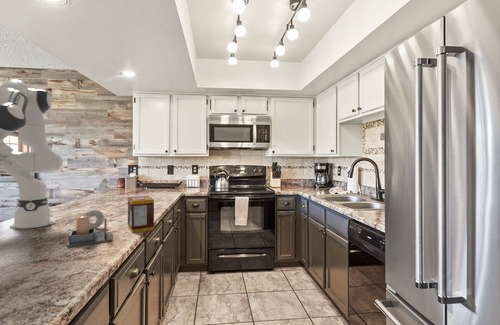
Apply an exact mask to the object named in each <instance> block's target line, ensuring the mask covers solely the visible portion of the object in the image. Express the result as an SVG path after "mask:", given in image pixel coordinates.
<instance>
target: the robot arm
mask: <svg viewBox="0 0 500 325" xmlns="http://www.w3.org/2000/svg"><path fill="white" fill-rule="evenodd" d="M52 99H53V98H52V96H51V94H50V93H49V92H48V91H47V90H44V89H39V88H38V89H35V88H29V87H28V85H27V84H26V83H25V82H24V81H22V80H19V79H9V80H6V81H5V82H3V83H2V84H0V169H1V171H3V172H4V173H6V174H8V175H9V176H11V177H13V179H14V180H15V182H16V183H17V186H18V195H19V196H18V197H19V200H18V202H17V204H18V205H17V206H18V208H17V209H16V210H15V211H14V217H13V218H14V220H13V224H11V225H10V226H9V228H11V229H34V228H40V227H45V226H49V225H53V224H56V220H55V217H54V216H53V215H52V214H51V208H50V207H49V206H48V202H49V201H48V197H47V184H46V183H45V182H44V181H43V180H41V179H39V178H38V179H37V178H35V177H34V176H33V175H32V174H36V173H37V174H41V173H45V174H47V173H52V172H58V171H60V170H61V169H62V167H63V164H64V162H63V158H62V157H61V155H60V154H58V153H57V152H55V151H54V150H53V149H52V148H51V147H50V146H49V144H48V142H47V137H46V136H47V135H46V123H45V121H46V120H45V117H44V114H46V111H48V110H50V109H51V107H52V103H53V100H52ZM16 131H18V141H19V143H21V144H22V145H25V146H27V147H29V148H31V149H33V150H34V151H33V152H31V151H29V152H27V151H23V152H21V151H15V152H13V151H14V149H13V148H12V147H11V146H9V145H8V144H7V143H5V142H4V141H3V140H4V139H6V138H7V137H9V136H10V135H12V134H13V133H14V132H16Z"/></svg>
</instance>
